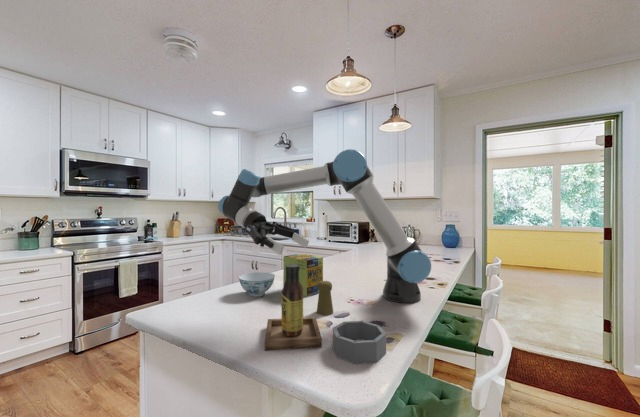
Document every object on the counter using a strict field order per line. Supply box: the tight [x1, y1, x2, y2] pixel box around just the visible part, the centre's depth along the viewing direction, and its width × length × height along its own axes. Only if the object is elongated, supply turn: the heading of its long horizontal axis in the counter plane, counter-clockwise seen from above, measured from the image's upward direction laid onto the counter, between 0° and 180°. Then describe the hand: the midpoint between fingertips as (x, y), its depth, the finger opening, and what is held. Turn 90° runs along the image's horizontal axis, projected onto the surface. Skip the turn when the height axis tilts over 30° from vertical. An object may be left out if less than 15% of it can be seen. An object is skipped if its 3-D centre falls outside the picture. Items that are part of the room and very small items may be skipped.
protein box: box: [282, 253, 324, 298], centre depth 129 cm, size 10×15×16 cm
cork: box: [316, 280, 334, 316], centre depth 103 cm, size 6×6×11 cm
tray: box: [264, 316, 323, 352], centre depth 84 cm, size 15×15×2 cm
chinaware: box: [238, 271, 275, 297], centre depth 125 cm, size 15×15×8 cm
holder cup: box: [332, 320, 387, 365], centre depth 76 cm, size 13×13×5 cm
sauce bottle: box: [281, 264, 304, 336], centre depth 84 cm, size 6×6×20 cm
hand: (295, 247), depth 94 cm, fingers open, 13 cm apart
